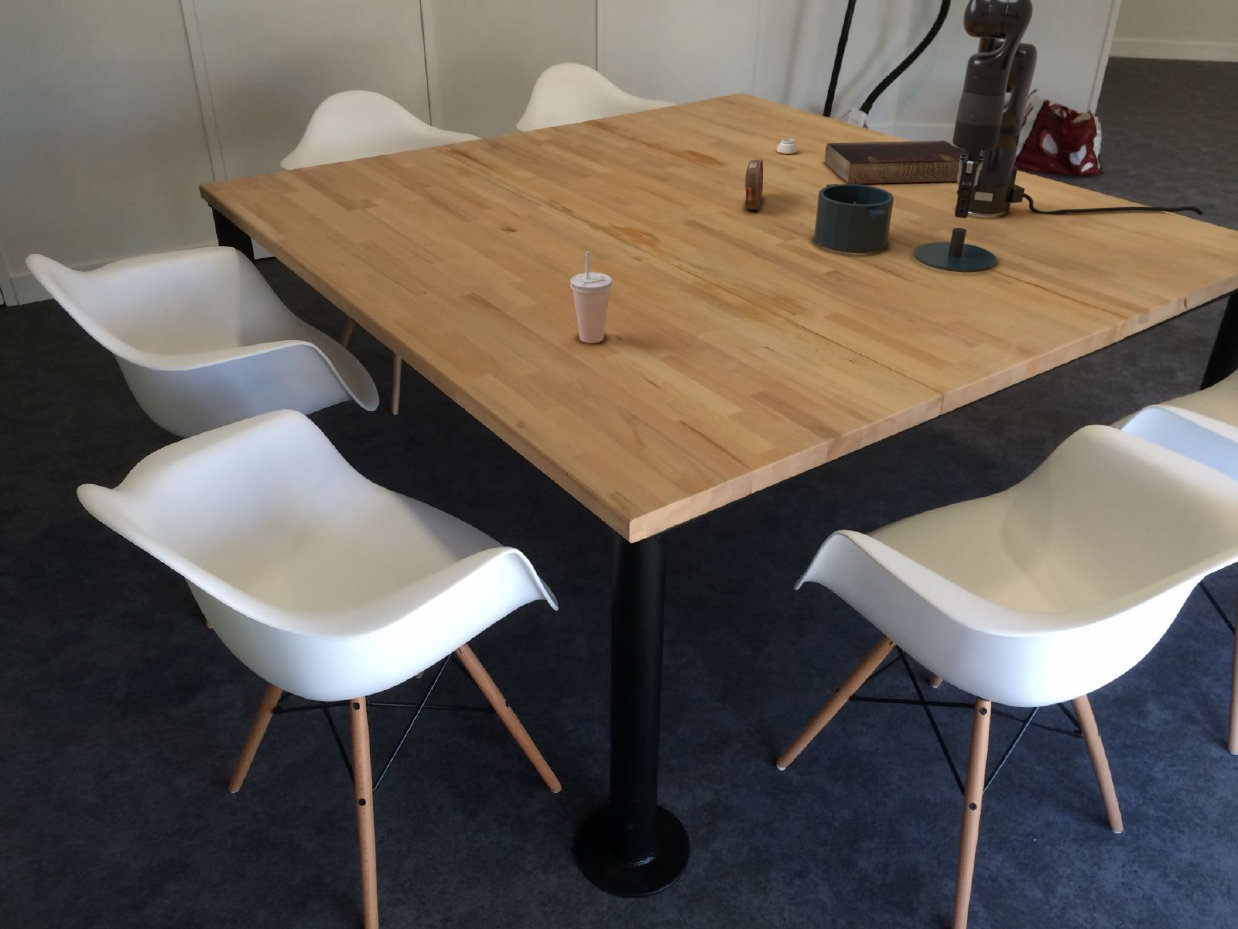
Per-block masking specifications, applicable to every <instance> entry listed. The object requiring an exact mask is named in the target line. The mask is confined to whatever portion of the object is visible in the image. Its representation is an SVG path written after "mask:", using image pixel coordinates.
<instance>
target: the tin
mask: <svg viewBox="0 0 1238 929" xmlns="http://www.w3.org/2000/svg"><path fill="white" fill-rule="evenodd" d="M763 187H764V162H763V159H753V160H749V163H748V165H747V167H746V171H745V178H744V188H745V200H744V207H745V209H746V210H748V211H759V209H760V206H761V202H762V199H763V189H764V188H763Z"/></svg>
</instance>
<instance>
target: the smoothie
mask: <svg viewBox="0 0 1238 929" xmlns="http://www.w3.org/2000/svg"><path fill="white" fill-rule="evenodd" d="M570 288H571V289H572V295H573V301H574V307H575V314H576V321H577V330H578V335H579V340H580V341H581V342H583V343H586V344H597V343H598V344H599V343H600V342H603V341H604V337H605V330H606V324H607V323H606V322H607V314H608V306H609V300H610V292H611V289H612V288H613V278H612V277H611V276H610V275H608V274H605V273H602V272H595V271H593V272H590V251H585V272H582V273H578V274H574V275H573V276H572V277H571V278H570Z"/></svg>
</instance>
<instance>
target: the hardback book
mask: <svg viewBox="0 0 1238 929" xmlns="http://www.w3.org/2000/svg"><path fill="white" fill-rule="evenodd" d="M961 154H965V155H966V152H964V151H963V150H961V149H960V148H959V147H957V146H955V145H954V144H951V143H950V142H948V141H947V140H918V141H917V140H915V141H914V140H912V141H911V140H910V141H873V142H872V141H871V142H869V141H867V142H863V141H862V142H827V143H826V145H825V152H824V164H825V165H826V166H827V167H828V168H829V169H831V170H832V171H833V172H834V173H835V174H836V175H837V176H839V178H841V179H842V180H843V181H844V182H845V184H889V183H890V184H891V183H892V184H893V183H931V182H933V183H934V182H957V180H958V174H959V161H960V158H961Z"/></svg>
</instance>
